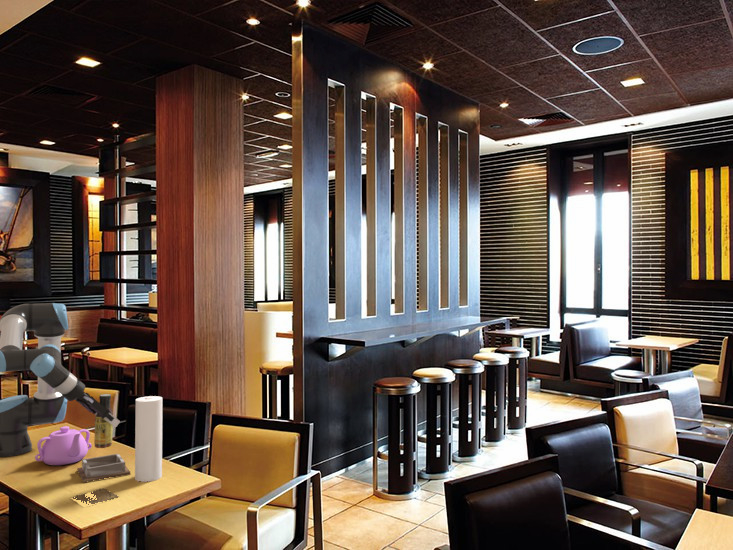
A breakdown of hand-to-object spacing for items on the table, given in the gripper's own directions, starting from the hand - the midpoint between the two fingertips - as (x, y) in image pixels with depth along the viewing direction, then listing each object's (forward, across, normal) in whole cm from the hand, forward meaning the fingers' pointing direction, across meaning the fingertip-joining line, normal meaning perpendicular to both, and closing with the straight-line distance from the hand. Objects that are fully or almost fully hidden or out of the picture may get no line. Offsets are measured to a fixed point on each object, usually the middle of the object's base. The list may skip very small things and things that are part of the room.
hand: (113, 422), depth 215 cm
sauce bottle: (+3, 0, -9) cm, 9 cm away
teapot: (+8, -24, -18) cm, 32 cm away
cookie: (+2, +22, -25) cm, 34 cm away
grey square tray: (+11, 0, -16) cm, 19 cm away
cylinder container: (+17, +17, -10) cm, 26 cm away
